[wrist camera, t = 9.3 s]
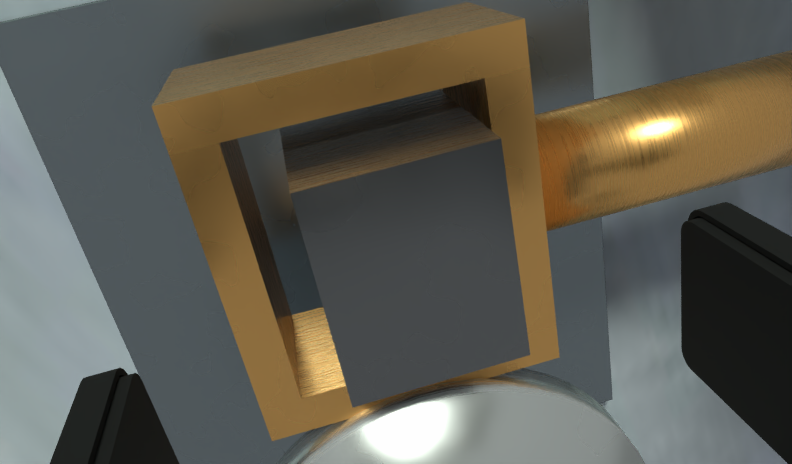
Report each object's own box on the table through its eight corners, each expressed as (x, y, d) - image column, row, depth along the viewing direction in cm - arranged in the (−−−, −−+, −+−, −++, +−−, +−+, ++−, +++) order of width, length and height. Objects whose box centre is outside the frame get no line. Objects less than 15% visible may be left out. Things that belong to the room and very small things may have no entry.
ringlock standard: (-5, 23, 20) (-565, 209, 6) (703, -131, 22) (1431, -244, 8) (220, 535, 29) (196, 1050, 16) (698, 390, 31) (1036, 729, 18)
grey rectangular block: (272, 84, 21) (289, 193, 12) (394, 54, 21) (500, 137, 12) (311, 225, 23) (352, 408, 14) (422, 195, 23) (530, 354, 14)
